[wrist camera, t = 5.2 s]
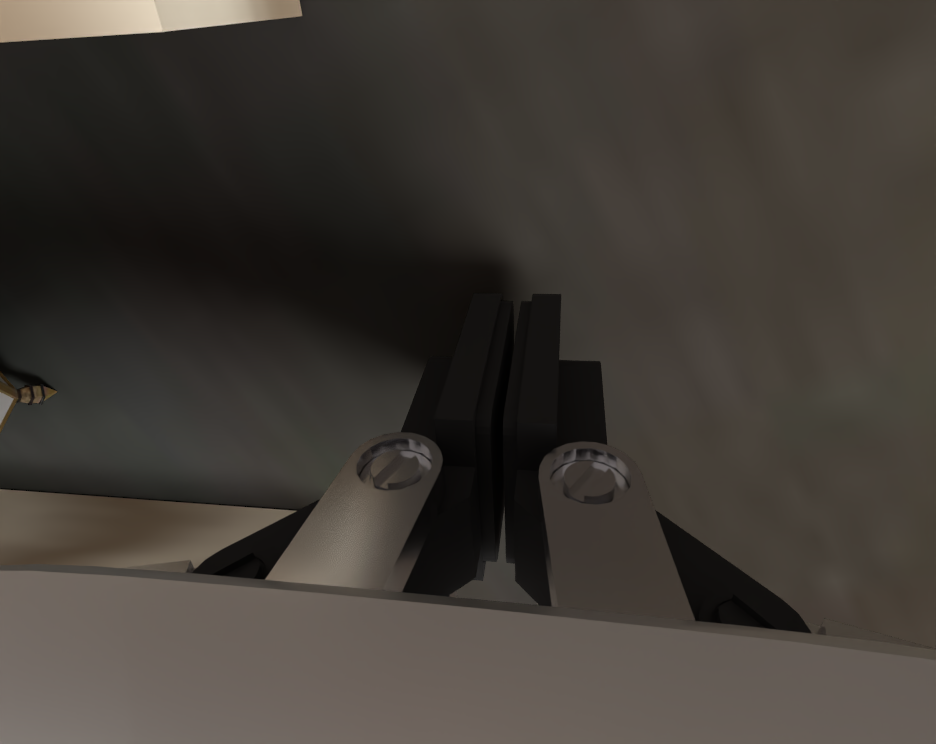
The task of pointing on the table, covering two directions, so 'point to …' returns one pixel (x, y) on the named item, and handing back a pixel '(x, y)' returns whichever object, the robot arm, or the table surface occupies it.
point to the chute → (107, 518)
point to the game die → (19, 397)
